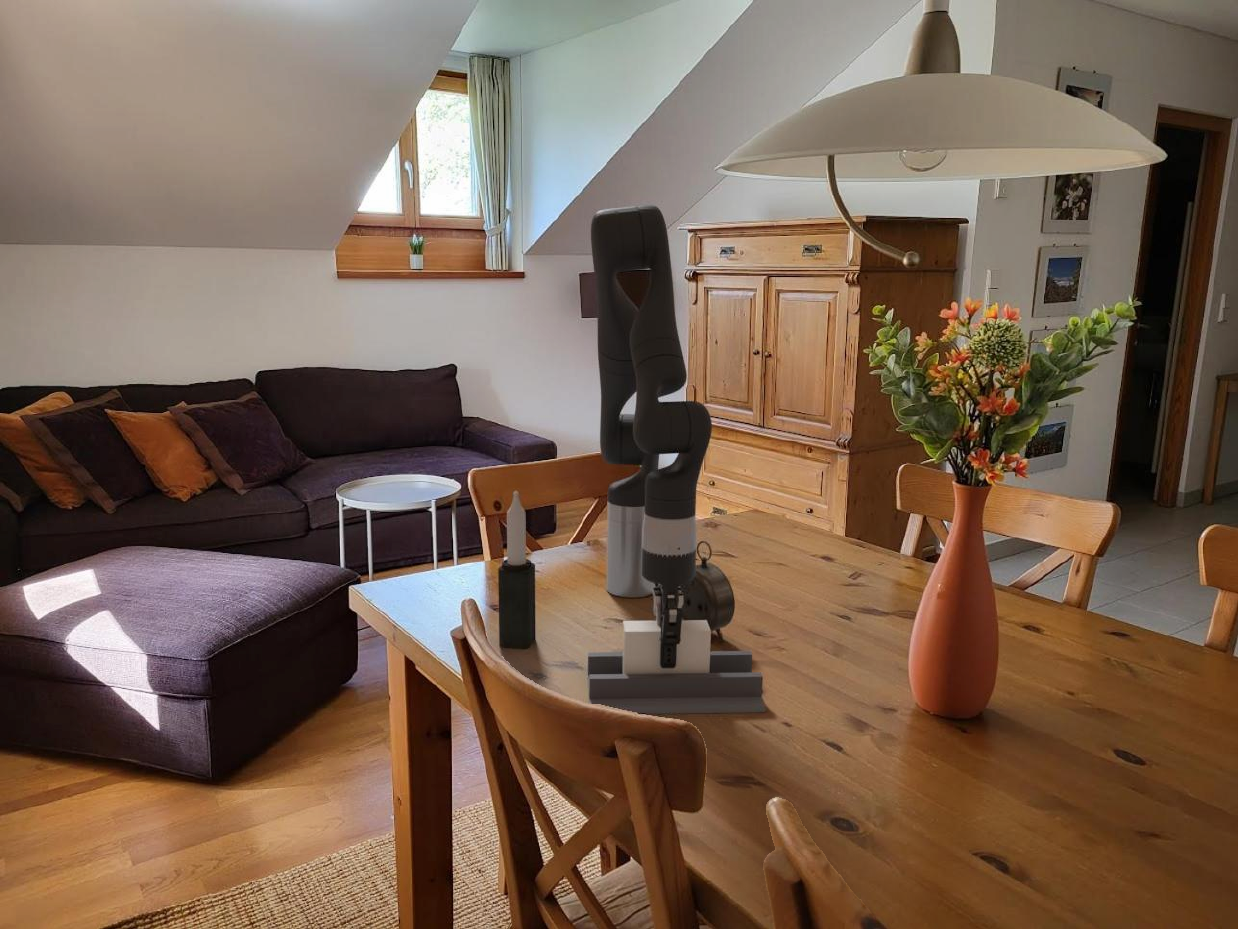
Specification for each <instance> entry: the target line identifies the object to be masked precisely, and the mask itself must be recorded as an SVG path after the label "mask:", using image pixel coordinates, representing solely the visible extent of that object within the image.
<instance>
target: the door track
mask: <svg viewBox="0 0 1238 929" xmlns="http://www.w3.org/2000/svg"><path fill="white" fill-rule="evenodd" d="M587 653H588V654H587V685H588V701H589V702H588V703H591V704H601V705H605V706H609V707H613V708H618V709H622V710H627V711H632V712H637V713H646V714H645V715H658V714H660V715H662V714H663V715H666V714H667V715H670V714H672V715H673V714H724V713H725V714H727V713H728V714H731V713H734V714H736V713H737V714H738V713H766V709H767V706H766V703H765V700H764V699H763V684H764V682H763V681H764V679H763V678H764V677H763V674H762V672H760V671H759V672H752V669H753V653H752V651H751V650H715V651H714V650H712V651H711V650H710V669H709V673H671V674H622V667H623V651H621V652H620V651H618V652H614V651H611V652H604V651H603V652H600V651H599V652H598V651H596V652H587Z"/></svg>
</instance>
